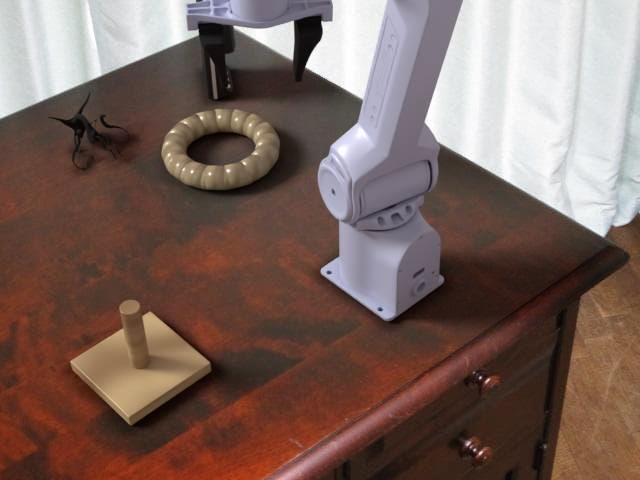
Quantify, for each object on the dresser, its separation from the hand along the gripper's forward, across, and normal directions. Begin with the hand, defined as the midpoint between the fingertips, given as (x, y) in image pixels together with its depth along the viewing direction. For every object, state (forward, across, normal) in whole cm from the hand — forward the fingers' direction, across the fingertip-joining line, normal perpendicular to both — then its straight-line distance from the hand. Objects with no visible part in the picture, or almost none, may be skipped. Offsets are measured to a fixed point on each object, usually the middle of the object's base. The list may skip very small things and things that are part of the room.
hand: (261, 78), depth 120 cm
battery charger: (+11, +4, -14) cm, 18 cm away
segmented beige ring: (+9, +5, 0) cm, 10 cm away
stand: (+8, +14, +30) cm, 35 cm away
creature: (+11, +18, -3) cm, 22 cm away
